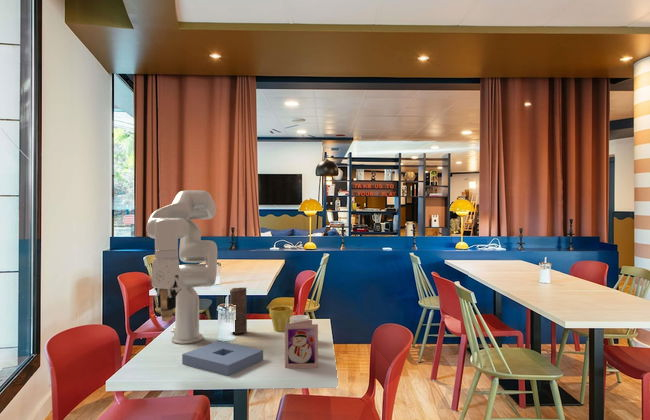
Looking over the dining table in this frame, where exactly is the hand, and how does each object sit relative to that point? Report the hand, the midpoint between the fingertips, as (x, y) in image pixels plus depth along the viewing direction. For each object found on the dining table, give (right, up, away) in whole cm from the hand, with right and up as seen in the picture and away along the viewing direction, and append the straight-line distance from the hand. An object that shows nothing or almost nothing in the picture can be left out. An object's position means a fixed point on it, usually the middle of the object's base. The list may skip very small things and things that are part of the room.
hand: (166, 307), depth 153 cm
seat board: (+18, -21, +7) cm, 28 cm away
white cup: (+44, -21, +31) cm, 58 cm away
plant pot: (+35, -21, +48) cm, 63 cm away
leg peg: (0, -4, 0) cm, 4 cm away
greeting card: (+46, -21, +3) cm, 51 cm away
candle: (+16, -21, +43) cm, 50 cm away
